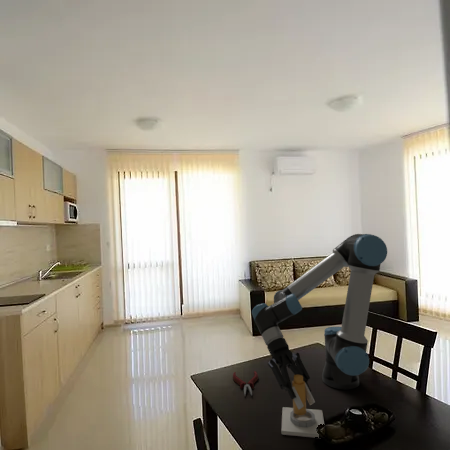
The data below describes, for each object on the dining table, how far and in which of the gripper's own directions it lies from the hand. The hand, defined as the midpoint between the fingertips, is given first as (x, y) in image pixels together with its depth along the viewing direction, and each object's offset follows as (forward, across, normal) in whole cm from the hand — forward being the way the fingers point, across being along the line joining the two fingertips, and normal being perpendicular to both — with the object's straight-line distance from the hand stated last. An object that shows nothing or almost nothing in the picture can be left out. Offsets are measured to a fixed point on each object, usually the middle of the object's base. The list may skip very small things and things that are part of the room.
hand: (306, 405), depth 106 cm
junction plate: (+3, 0, -7) cm, 8 cm away
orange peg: (0, 0, -5) cm, 5 cm away
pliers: (-21, +3, -32) cm, 39 cm away
